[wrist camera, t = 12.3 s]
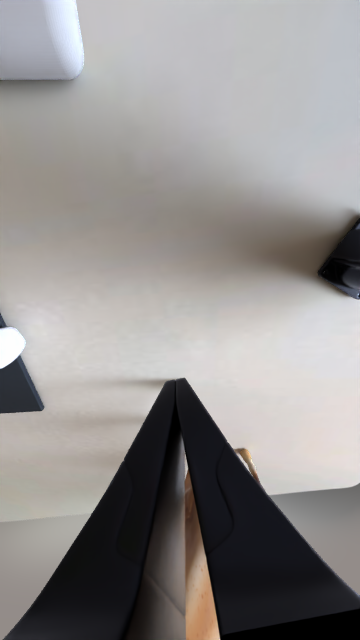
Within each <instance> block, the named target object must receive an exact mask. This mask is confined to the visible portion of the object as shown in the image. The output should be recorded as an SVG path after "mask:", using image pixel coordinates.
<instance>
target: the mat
mask: <svg viewBox="0 0 360 640" xmlns="http://www.w3.org/2000/svg"><path fill="white" fill-rule="evenodd" d="M5 327H6V325H5V323H4V320H3V318H2V316H1V314H0V328H5ZM43 409H44V406H43V403H42V401H41V399H40V397H39V395H38V393H37V391H36V389H35V386H34V384H33V382H32V380H31V378H30V376H29V374H28V372H27V369H26V367H25V365H24V363H23V361H22V359H21V357H20V355H19V356H18V357H17V358H16V359H15V360H14V361H13V362H11V363H10V364H8V365H7V366H5V367H3V368H1V369H0V413H16V412H32V411H42V410H43Z"/></svg>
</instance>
